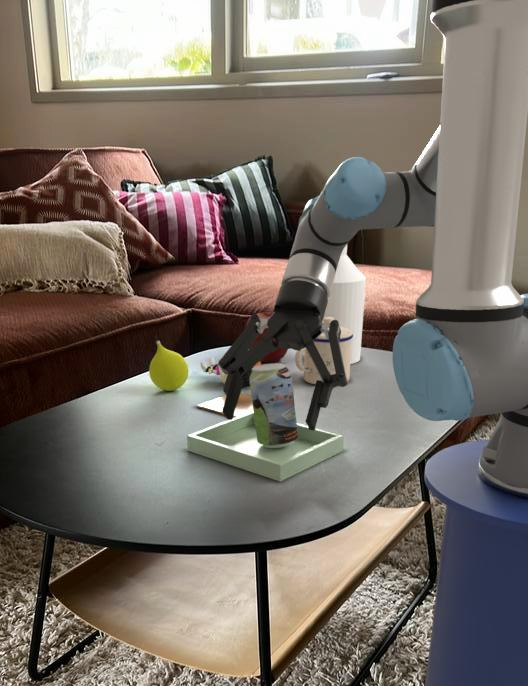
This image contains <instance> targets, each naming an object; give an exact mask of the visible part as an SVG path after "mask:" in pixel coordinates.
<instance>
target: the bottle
mask: <svg viewBox="0 0 528 686" xmlns="http://www.w3.org/2000/svg"><path fill="white" fill-rule="evenodd" d="M347 253H348V244H347V245H346V246H345V248H344V249H343V251H342V253H341V256H340V259H339V263H338V266H337V270H336V273H335V277H334V281H333V284H332V288H331V292H330V295H329V298H328V303H327V307H326V310H325V314H324V317H323V319H324V318H325V317H333V318H334V320H337V321H338V322H339V325H341V326H342V327H344V328H348V329H350V330H351V331H352V334H353V337H352V340H351V360H350V365H352V364H356V363H358V362H359V361H360V360H361V354H362V353H361V351H362V338H363V325H364V312H365V297H366V285H367V284H366V283H367V278H366V276H365V275H364V274H363V273H362V272H361V270H360V269H358V267H357V266H356V265H355V264H354V262H353V261H352V260H351V258H350V257H349V256H348V254H347ZM322 323H323V320H322Z"/></svg>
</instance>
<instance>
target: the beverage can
mask: <svg viewBox="0 0 528 686" xmlns="http://www.w3.org/2000/svg"><path fill="white" fill-rule="evenodd" d="M249 381H250V384H249V388H250V395H251V396H252V404H253V411H254V419H255V427H256V434H257V441H258V443H260V444H262V445H263V446H264V447H267V448H279V447H285V446H288V445H290V444H292V443H293V442H294V440H296V439H297V438H298V431H297V423H298V422H297V415H296V405H295V397H294V387H293V377H292V373H291V371H290V369H289V368H288V367H287V364H286V363H284V362H270V363H265V364H261V365H259V366H256V367H254V368H252V373H251V375H250V378H249Z"/></svg>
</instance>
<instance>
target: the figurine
mask: <svg viewBox="0 0 528 686" xmlns="http://www.w3.org/2000/svg"><path fill="white" fill-rule="evenodd" d="M220 360H221V358H219V360H218V362H219V361H220ZM259 365H262V362H260V361H259V362H258V363H257V364H256V365H254V366H253V367H252V368H254V367H256V366H259ZM200 368H201V370H202V371H203V373H208V375H211V374H215V376H219V378H220V381H221V383H222V384H224V385H225V382H226V378H227V375H228V374H224V373H223V371H222V369H221V368H220V366H219V364H218V363H216V362H215V359H214V357H211V358H209V361H208V364H207V363H206V362H205V361H204V360H202V361H201V362H200ZM252 368H251V369H250V370H248V371H247V372H246V373H245V374H244V375H243V376H241V377H242V379H243V380H244V383H243V386H250V381H249V378H250V375H251V373H252Z"/></svg>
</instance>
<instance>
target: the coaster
mask: <svg viewBox="0 0 528 686" xmlns="http://www.w3.org/2000/svg"><path fill="white" fill-rule="evenodd" d="M225 400H226V395H223V396H220V397H216V398H214V399H211V400H208V401H205V402H202V403H199V404H197V405H196V408H199V409H202V410H206V411H209V412H214V413H215V414H220V415H223V416H225V415H224V413H223V412H222V409H223V406H224V403H225ZM251 411H253V404H252V396H251V394H246V393H243V392H241V393H240V396H239V399H238V403H237V406H236V409H235V412H234V416H233V418H235V417H238V416H240V415H243V414H246V413H248V412H251Z"/></svg>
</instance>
